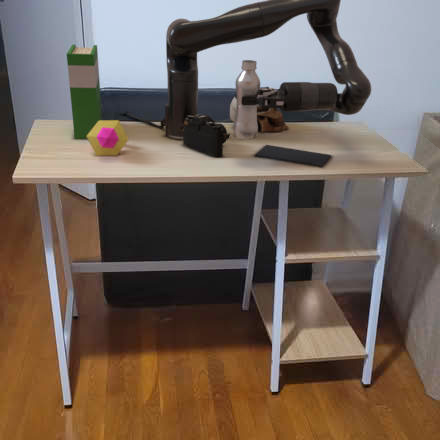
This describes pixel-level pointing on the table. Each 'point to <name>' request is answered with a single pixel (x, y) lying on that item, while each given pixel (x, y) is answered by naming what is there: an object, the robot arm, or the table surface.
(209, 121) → the film camera
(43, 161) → the table surface
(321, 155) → the mat
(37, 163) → the table surface
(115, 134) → the toy
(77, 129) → the hardback book
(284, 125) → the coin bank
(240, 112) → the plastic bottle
